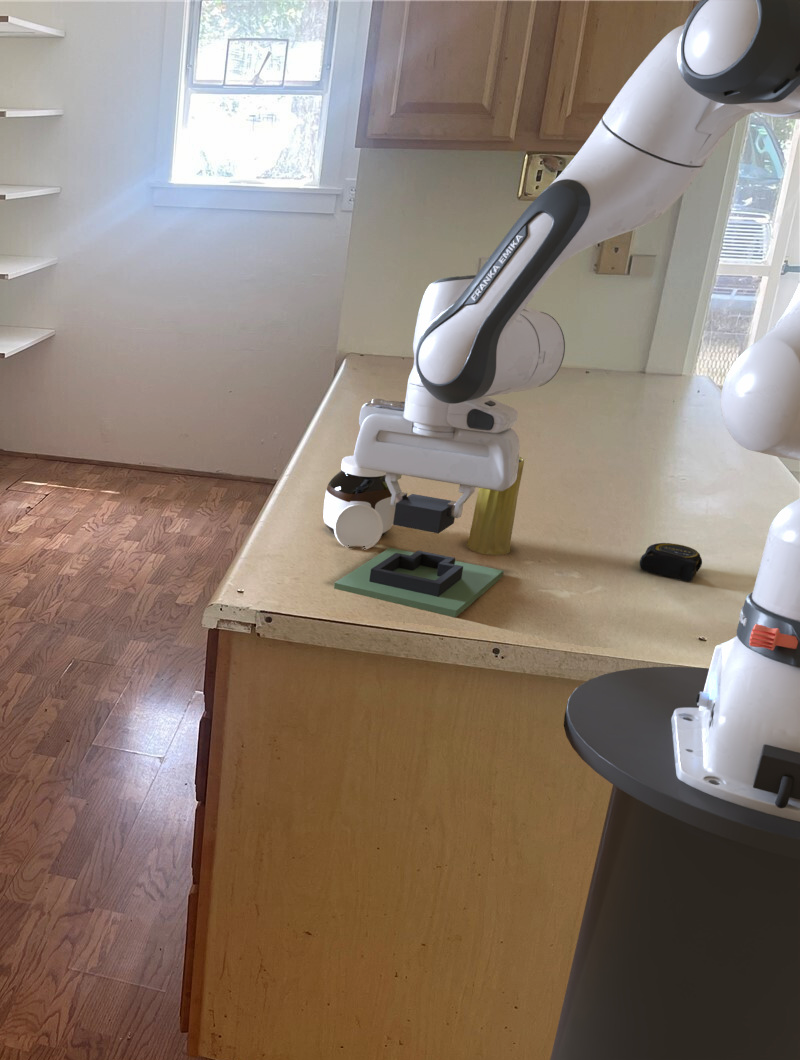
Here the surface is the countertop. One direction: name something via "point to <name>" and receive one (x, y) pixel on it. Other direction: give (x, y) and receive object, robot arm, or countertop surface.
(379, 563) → the socket mat
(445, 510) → the plug
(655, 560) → the tape measure
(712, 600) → the countertop surface
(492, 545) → the vase
